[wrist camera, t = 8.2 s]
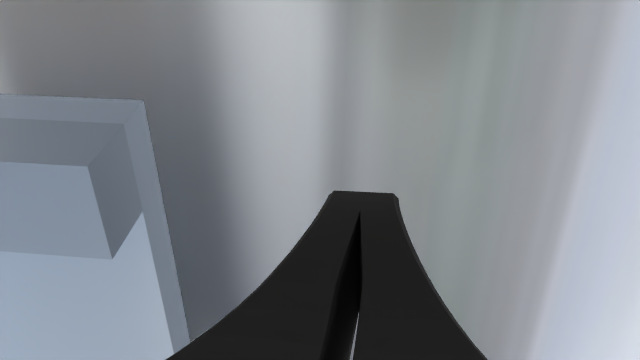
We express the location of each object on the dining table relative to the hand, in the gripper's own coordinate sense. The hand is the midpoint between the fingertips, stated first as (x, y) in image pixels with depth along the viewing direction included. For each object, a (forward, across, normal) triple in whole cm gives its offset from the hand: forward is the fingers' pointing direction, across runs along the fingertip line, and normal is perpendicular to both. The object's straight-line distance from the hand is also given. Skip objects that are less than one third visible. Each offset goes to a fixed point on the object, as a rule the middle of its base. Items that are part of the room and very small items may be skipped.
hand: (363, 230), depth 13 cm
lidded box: (0, +8, +5) cm, 9 cm away
